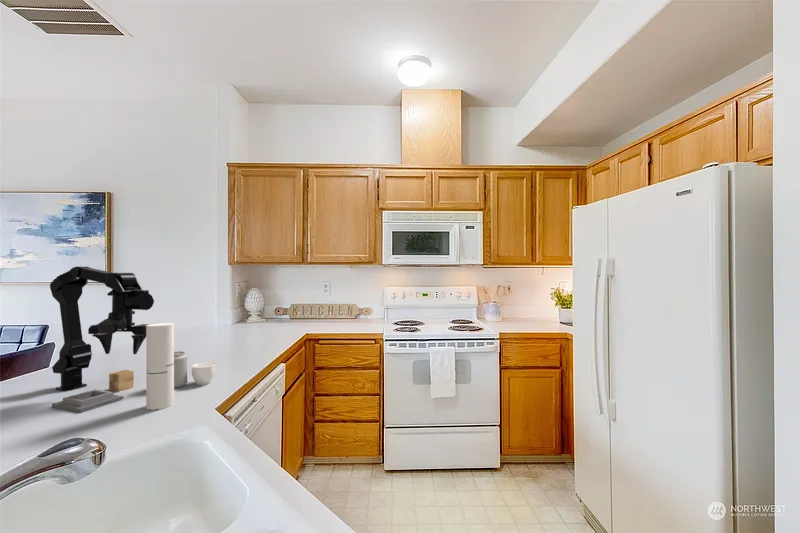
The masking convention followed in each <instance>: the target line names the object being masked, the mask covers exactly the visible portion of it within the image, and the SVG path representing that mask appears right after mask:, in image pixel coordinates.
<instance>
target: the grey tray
mask: <svg viewBox="0 0 800 533" xmlns="http://www.w3.org/2000/svg"><path fill="white" fill-rule="evenodd" d="M122 399H123V400H124V396H123V395H118V394H114V391H109V390H103V389H90V390H88V391H84V392H80V393H77V394H73V395H69V396H66V397H63V398H62V400H60V401H56V402H53V403H51V407H52V408H56V409H61V410H66V411H70V412H76V413H80V414H81V413H83V412H87V411H90V410H94V409H97V408H100V407H103V406H106V405H109V404H114V403H117V402H119V400H120V401H123V400H122ZM116 401H117V402H116Z"/></svg>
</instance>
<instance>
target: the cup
mask: <svg viewBox="0 0 800 533" xmlns="http://www.w3.org/2000/svg"><path fill="white" fill-rule="evenodd" d="M215 374H216V363H215V362H209V361H208V362H200V363H195V364H192V366H191V376H192V379H193V380H194V382H195V384H196V385H197V386H205V385H208V384H211V382H212V380H213V378H214V376H215Z"/></svg>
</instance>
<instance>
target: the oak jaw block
mask: <svg viewBox="0 0 800 533" xmlns="http://www.w3.org/2000/svg"><path fill="white" fill-rule="evenodd" d="M133 387H134V370H129V369H123V370H118V371H114V372H110V373H108V391H109V392H115V393H117V392H118V393H120V391H121V392H123V391H127V390H131V389H133ZM130 388H131V389H130ZM134 388H135V387H134Z"/></svg>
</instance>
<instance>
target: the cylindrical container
mask: <svg viewBox="0 0 800 533" xmlns="http://www.w3.org/2000/svg"><path fill="white" fill-rule="evenodd" d="M145 339H146V342H145V343H146V346H145V347H146V348H145V349H146V353H145V354H146V355H145V356H146V364H145V366H146V380H145V381H146V386H145V389H146V397H145V398H146V410H148V409H151V410H150V411H157V410H156V409H159V410H163V408H164V409H167V407H168V408H169V407H172V406H174V404H175V388H174V352H175V323H173V322H159V323H149V325H146V338H145Z"/></svg>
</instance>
